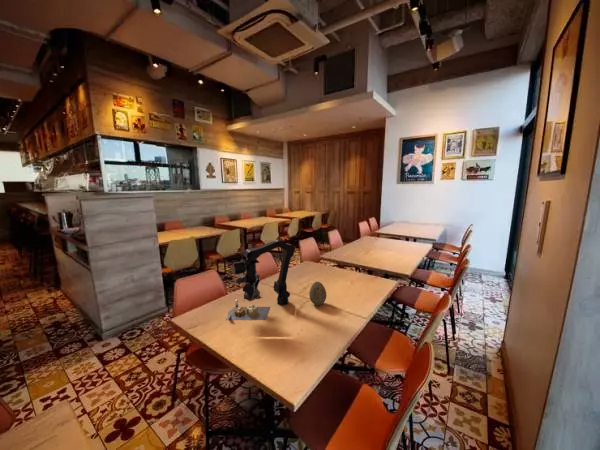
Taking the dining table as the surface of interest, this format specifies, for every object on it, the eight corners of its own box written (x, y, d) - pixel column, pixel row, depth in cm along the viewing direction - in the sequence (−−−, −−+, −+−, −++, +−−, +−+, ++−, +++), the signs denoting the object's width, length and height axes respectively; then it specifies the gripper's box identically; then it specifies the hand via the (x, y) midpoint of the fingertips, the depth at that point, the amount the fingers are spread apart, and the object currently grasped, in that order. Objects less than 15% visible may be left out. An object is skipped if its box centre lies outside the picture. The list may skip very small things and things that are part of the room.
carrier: (270, 308, 149) (270, 299, 148) (266, 321, 134) (265, 311, 133) (234, 308, 150) (233, 299, 149) (225, 321, 135) (224, 311, 134)
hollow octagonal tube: (258, 310, 144) (258, 304, 144) (256, 315, 139) (255, 309, 138) (248, 310, 145) (248, 304, 144) (246, 315, 139) (245, 309, 138)
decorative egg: (314, 299, 160) (313, 277, 157) (329, 302, 154) (329, 280, 152) (306, 306, 150) (306, 283, 148) (322, 310, 145) (321, 286, 143)
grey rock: (256, 301, 158) (248, 288, 157) (245, 306, 160) (237, 293, 160) (262, 293, 168) (255, 281, 167) (252, 298, 171) (245, 286, 170)
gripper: (241, 265, 148) (243, 289, 151) (232, 277, 130) (234, 304, 132) (259, 265, 148) (261, 289, 150) (252, 277, 129) (254, 304, 132)
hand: (252, 296), depth 141 cm, fingers open, 9 cm apart
